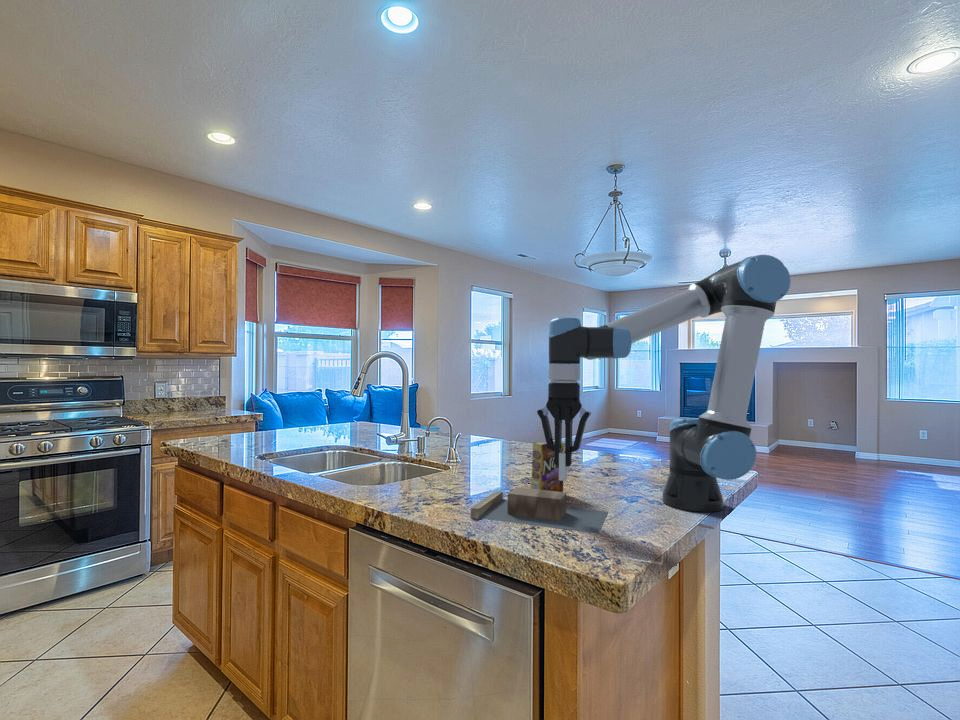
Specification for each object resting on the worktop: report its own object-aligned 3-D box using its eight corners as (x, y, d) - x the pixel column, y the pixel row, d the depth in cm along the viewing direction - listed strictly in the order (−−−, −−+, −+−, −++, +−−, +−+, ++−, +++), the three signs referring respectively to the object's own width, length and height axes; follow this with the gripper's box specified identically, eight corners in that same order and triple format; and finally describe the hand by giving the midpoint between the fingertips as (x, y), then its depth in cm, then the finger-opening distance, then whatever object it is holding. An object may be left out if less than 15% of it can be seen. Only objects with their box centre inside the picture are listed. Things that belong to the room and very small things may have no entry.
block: (566, 492, 121) (516, 487, 126) (560, 499, 115) (507, 493, 120) (566, 512, 121) (515, 506, 126) (560, 520, 115) (507, 513, 120)
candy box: (540, 499, 135) (541, 444, 135) (530, 496, 138) (531, 442, 138) (564, 495, 139) (565, 441, 140) (554, 492, 143) (554, 439, 143)
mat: (608, 513, 123) (608, 511, 123) (598, 535, 106) (598, 533, 106) (502, 500, 133) (502, 498, 133) (478, 519, 116) (478, 517, 116)
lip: (502, 500, 133) (502, 491, 133) (478, 519, 116) (478, 509, 116) (495, 499, 134) (495, 490, 134) (470, 518, 117) (470, 507, 117)
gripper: (593, 382, 120) (592, 478, 119) (541, 380, 125) (540, 473, 124) (588, 382, 113) (587, 485, 112) (533, 381, 118) (532, 480, 117)
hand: (562, 479), depth 118 cm, fingers closed
